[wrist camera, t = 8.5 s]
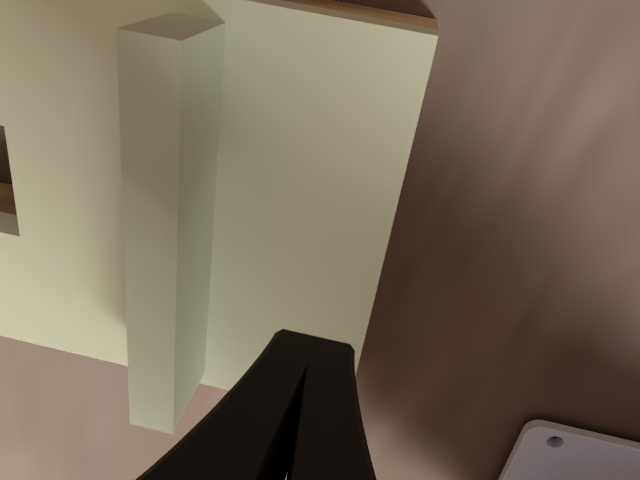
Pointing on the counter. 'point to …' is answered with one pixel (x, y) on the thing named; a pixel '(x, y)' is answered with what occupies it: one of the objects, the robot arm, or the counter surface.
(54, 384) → the counter surface
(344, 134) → the cover
